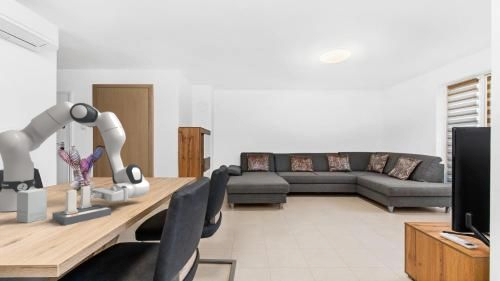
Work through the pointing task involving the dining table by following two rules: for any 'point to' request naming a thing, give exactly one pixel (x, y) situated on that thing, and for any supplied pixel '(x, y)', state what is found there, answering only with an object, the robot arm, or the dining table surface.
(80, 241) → the dining table surface
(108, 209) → the switch panel
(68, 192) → the switch knob
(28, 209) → the supplement box
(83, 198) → the switch knob
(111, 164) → the robot arm
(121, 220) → the dining table surface
